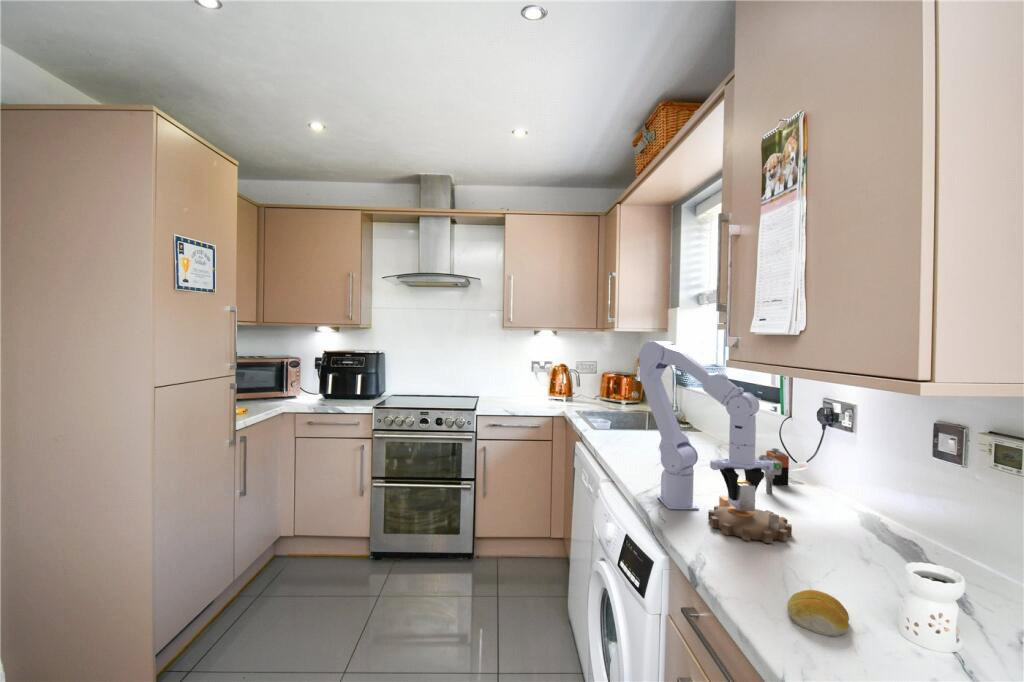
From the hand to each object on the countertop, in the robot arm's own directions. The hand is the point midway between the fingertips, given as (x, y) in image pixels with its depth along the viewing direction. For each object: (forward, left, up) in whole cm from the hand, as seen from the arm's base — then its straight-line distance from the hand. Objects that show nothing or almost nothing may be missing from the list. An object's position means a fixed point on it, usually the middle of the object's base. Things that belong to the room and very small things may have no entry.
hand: (740, 499), depth 115 cm
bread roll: (+39, -7, -6) cm, 41 cm away
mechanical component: (-21, +19, -6) cm, 29 cm away
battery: (-31, +27, -6) cm, 42 cm away
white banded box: (0, 0, -2) cm, 2 cm away
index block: (-8, 0, -6) cm, 9 cm away
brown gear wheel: (+4, 0, -6) cm, 7 cm away
